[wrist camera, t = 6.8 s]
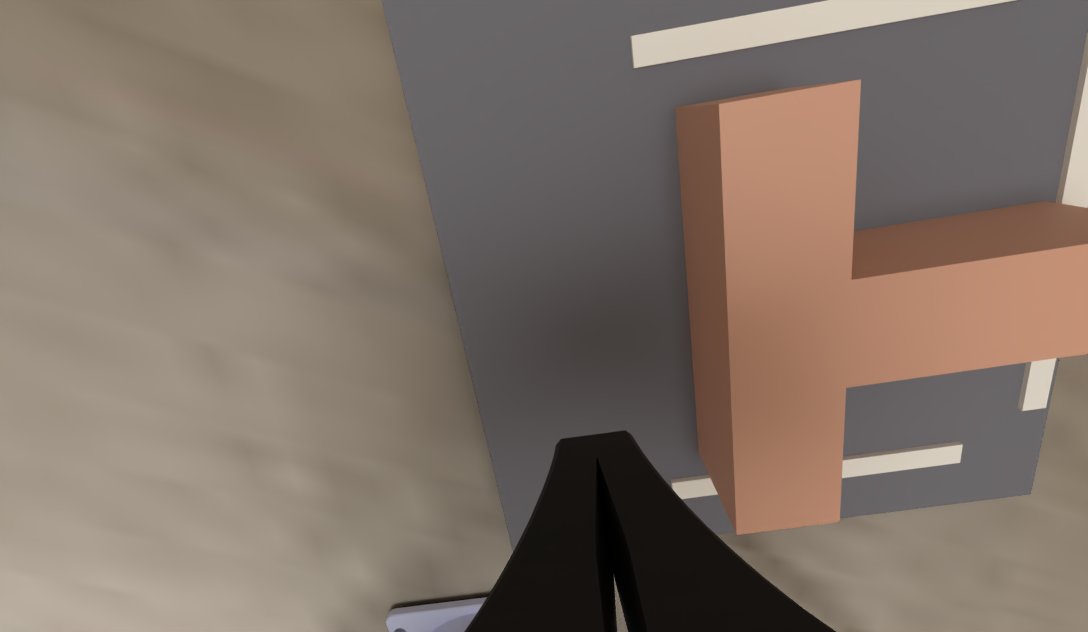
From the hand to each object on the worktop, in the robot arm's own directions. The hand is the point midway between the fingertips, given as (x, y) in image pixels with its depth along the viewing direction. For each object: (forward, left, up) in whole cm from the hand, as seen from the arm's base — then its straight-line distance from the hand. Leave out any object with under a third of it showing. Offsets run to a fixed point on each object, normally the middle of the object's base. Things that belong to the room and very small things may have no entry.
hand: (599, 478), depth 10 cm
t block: (0, -9, -8) cm, 12 cm away
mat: (0, -6, -8) cm, 10 cm away
